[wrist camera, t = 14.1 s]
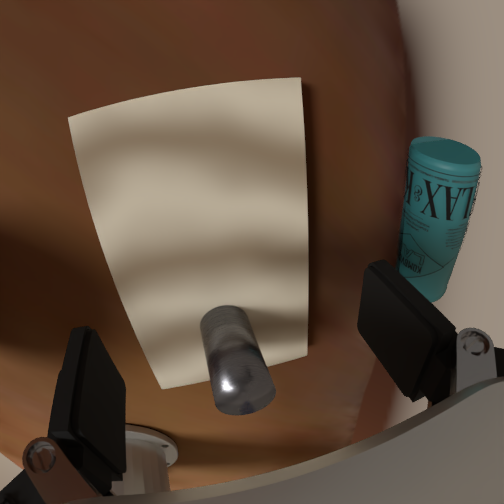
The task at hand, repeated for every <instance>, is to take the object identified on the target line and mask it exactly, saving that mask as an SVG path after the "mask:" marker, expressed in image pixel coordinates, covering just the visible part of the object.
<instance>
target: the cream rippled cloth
mask: <svg viewBox="0 0 504 504" xmlns="http://www.w3.org/2000/svg"><path fill="white" fill-rule="evenodd" d="M68 120H69V126H70V131H71V136H72V140H73V145H74V150H75V154H76V158H77V163H78V167H79V171H80V175H81V179H82V183H83V186H84V190H85V194H86V197H87V201H88V205H89V208H90V211H91V215H92V218H93V221H94V225H95V228H96V231H97V234H98V237H99V240H100V243H101V246H102V249H103V252H104V255H105V258H106V261H107V264H108V266H109V269H110V272H111V275H112V277H113V280H114V283H115V285H116V288H117V291H118V293H119V296H120V298H121V301H122V303H123V306H124V308H125V311H126V313H127V315H128V318H129V320H130V322H131V325H132V327H133V329H134V332H135V334H136V336H137V338H138V341H139V343H140V345H141V347H142V349H143V352H144V354H145V356H146V358H147V360H148V362H149V364H150V366H151V368H152V370H153V372H154V374H155V376H156V378H157V380H158V382H159V384H160V386H161V388H162V389H167V388H173V387H178V386H183V385H189V384H194V383H199V382H204V381H208V380H210V377H209V372H208V367H207V362H206V357H205V352H204V347H203V342H202V336H201V331H200V322H201V319H202V318H203V316H204V315H205V314H206V313H207V312H208V311H210V310H211V309H213V308H215V307H218V306H223V305H233V306H237V307H239V308H241V309H242V310H244V311H245V312H246V314H247V316H248V319H249V321H250V324H251V327H252V329H253V332H254V334H255V337H256V340H257V342H258V345H259V348H260V350H261V353H262V355H263V358H264V361H265V363H266V366H267V367H268V366H271V365H275V364H279V363H282V362H286V361H289V360H293V359H296V358H300V357H303V356H307V341H308V204H307V175H306V152H305V134H304V117H303V103H302V89H301V78H279V79H263V80H251V81H240V82H231V83H222V84H215V85H207V86H200V87H194V88H188V89H182V90H176V91H170V92H165V93H160V94H155V95H150V96H146V97H141V98H137V99H132V100H128V101H124V102H120V103H116V104H112V105H109V106H105V107H101V108H98V109H94V110H91V111H87V112H84V113H81V114H78V115H74V116H71V117H68Z"/></svg>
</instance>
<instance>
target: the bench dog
mask: <svg viewBox="0 0 504 504" xmlns="http://www.w3.org/2000/svg"><path fill="white" fill-rule="evenodd" d="M200 331H201V336H202V342H203V347H204V352H205V357H206V362H207V367H208V372H209V377H210V382H211V386H212V391H213V396H214V400H215V405H216V407H217V409H218V410H219V411H221V412H223V413H225V414H229V415H245V414H250V413H253V412H256V411H258V410H261V409H262V408H264V407H266V406H267V405H268V404H269V403H270V402H271V401H272V400H273V399H274V397H275V394H276V389H275V386H274V384H273V381H272V379H271V376H270V374H269V371H268V368H267V366H266V363H265V361H264V358H263V355H262V353H261V350H260V348H259V345H258V342H257V340H256V337H255V334H254V332H253V329H252V327H251V324H250V321H249V319H248V316H247V314H246V312H245V311H244V310H242V309H241V308H239V307H237V306H233V305H223V306H218V307H215V308H213V309H211V310H210V311H208V312H207V313H206V314H205V315H204V316H203V318H202V319H201V322H200Z"/></svg>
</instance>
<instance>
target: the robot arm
mask: <svg viewBox="0 0 504 504" xmlns="http://www.w3.org/2000/svg"><path fill="white" fill-rule="evenodd" d="M357 327H358V331H359V333H360V334H361V336H362V337H363V338H364V340H365V341H366V343H367V344H368V345H369V347H370V348H371V349H372V351H373V352H374V354H375V355H376V356H377V358H378V359H379V361H380V362H381V363H382V365H383V366H384V368H385V369H386V370H387V372H388V373H389V375H390V376H391V378H392V379H393V380H394V382H395V383H396V385H397V386H398V388H399V389H400V390H401V392H402V393H403V395H404V396H406V397H409V398H410V399H411V400H412V402H415V401H417V400H419V399H421V398H422V397H424V396H426V398H427V399H428V407H427V409H426V410H425V411H423V412H421V413H419V414H417V415H415V416H413V417H411V418H409V419H407V420H405V421H403V422H401V423H399V424H397V425H395V426H393V427H391V428H389V429H387V430H385V431H382V432H380V433H378V434H376V435H373V436H372V437H369V438H367V439H364V440H362V441H359V442H357V443H355V444H352V445H350V446H347V447H345V448H342V449H339V450H337V451H334V452H331V453H329V454H326V455H323V456H320V457H317V458H315V459H312V460H309V461H306V462H302V463H299V464H296V465H293V466H290V467H286V468H283V469H279V470H276V471H272V472H268V473H264V474H260V475H256V476H252V477H248V478H244V479H239V480H235V481H230V482H225V483H220V484H215V485H209V486H203V487H197V488H190V489H183V490H175V491H171V490H170V484H169V477H168V469H167V467H169V466H171V465H172V464H173V463H174V462H175V461H176V460H177V458H178V449H177V446H176V444H175V442H174V441H173V440H172V439H170V438H169V437H167V436H166V435H164V434H162V433H160V432H158V431H155V430H152V429H149V428H144V427H140V426H134V425H127V424H125V403H126V387H125V383H124V380H123V378H122V377H121V375H120V373H119V372H118V370H117V368H116V367H115V365H114V363H113V361H112V359H111V358H110V356H109V354H108V352H107V350H106V349H105V347H104V345H103V343H102V341H101V339H100V337H99V335H98V333H97V332H96V330H95V329H93V330H91V328H90V327H89V326H84V327H78V328H73V329H72V331H71V334H70V338H69V341H68V345H67V349H66V353H65V358H64V362H63V366H62V370H61V371H60V372H59V375H58V379H57V384H56V389H55V394H54V399H53V405H52V410H51V416H50V422H49V429H48V436H47V437H40V438H36V439H34V440H32V441H31V442H30V443H29V444H28V445H27V446H26V448H25V450H24V452H23V457H22V460H23V466H24V468H25V469H24V470H23V471H22V472H21V473H20V474H19V475H17V476H16V477H15V478H14V479H13V480H12V481H11V482H10V483H9V484H8V485H7V486H6V487H4V488H3V490H1V491H0V504H504V349H502V348H497V347H494V345H493V342H492V340H491V338H490V337H489V336H488V335H487V334H486V333H485V332H483V331H482V330H479V329H476V328H466V329H463V330H462V331H460V332H459V334H457V333H456V331H455V329H456V328H455V326H454V325H453V324H452V323H451V322H450V321H449V320H448V319H447V318H446V317H445V316H444V315H443V314H442V313H441V312H440V311H439V310H438V309H437V308H436V307H435V306H434V305H433V304H432V303H431V302H430V301H429V300H428V299H427V298H426V297H425V296H424V295H423V294H421V293H420V292H419V291H418V290H417V289H416V288H415V287H414V286H413V285H412V284H411V283H410V282H409V281H408V280H407V279H406V278H405V277H403V276H402V275H401V274H400V273H399V272H398V271H397V270H396V269H395V268H394V267H393V266H392V265H390V264H389V263H388V262H387V261H386V260H380V261H376V262H372V263H370V264H369V265H368V268H366V269H365V271H364V279H363V287H362V295H361V302H360V309H359V316H358V323H357Z"/></svg>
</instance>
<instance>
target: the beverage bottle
mask: <svg viewBox="0 0 504 504" xmlns="http://www.w3.org/2000/svg"><path fill="white" fill-rule="evenodd" d="M408 157H409V158H408V159H407V162H408V167H407V163H406V168H407V179H406V187H405V195H404V196H403V197H404V202H403V210H402V209H401V212H402V216H401V222H400V232H399V243H398V244H399V245H398V255H397V263H396V270H397V271H398V272H399V273H400V274H401V275H402V276H403V277H405V278H406V279H407V280H408V281H409V282H410V283H411V284H412V285H413V286H414V287H415V288H416V289H417V290H418V291H419V292H420V293H421V294H423V295H424V296H425V297H426V298H427V299H428V300H429V301H430V302H431V303H432V302H435V301H437V300H438V299H440V298H441V297H442V296H443V294H444V293H445V291H446V289H447V284H448V281H449V279H450V276H451V273H452V270H453V267H454V265H455V262H456V259H457V256H458V253H459V249H460V247H461V244H462V241H463V238H464V235H465V232H466V231H467V230H466V229H467V225H468V220H469V216H470V215H471V214H470V213H471V209H472V205H473V203H474V202H473V201H475V200H476V198H474V196H475V192H476V188H477V183H478V179H479V178H480V177H479V173H481V172H480V168H481V162H480V161H481V160H480V156H479V154H478V153H477V152H476V151H475V150H473V149H472V148H470V147H468V146H467V145H464V144H462V143H460V142H457V141H454V140H450V139H446V138H441V137H432V136H424V137H418V138H415V139H413V140H412V142H411V145H410V147H409V156H408ZM405 174H406V170H405ZM478 184H479V183H478ZM403 189H404V188H403ZM474 204H475V203H474Z"/></svg>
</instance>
